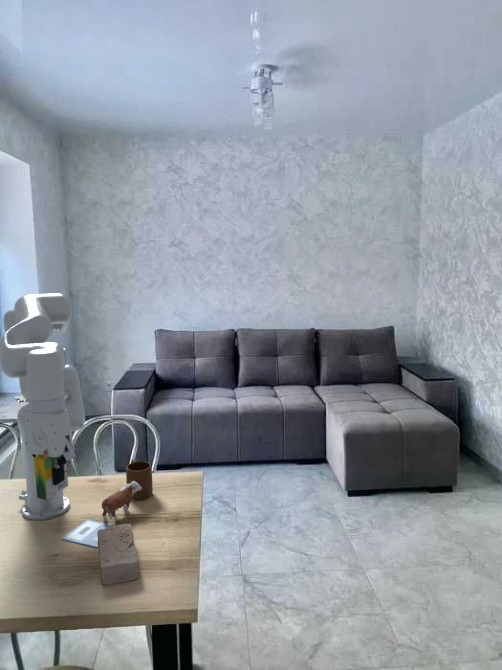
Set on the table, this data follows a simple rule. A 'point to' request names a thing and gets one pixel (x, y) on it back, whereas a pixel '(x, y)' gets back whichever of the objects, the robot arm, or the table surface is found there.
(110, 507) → the bull figurine
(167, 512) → the table surface
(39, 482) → the crayon box
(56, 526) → the table surface
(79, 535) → the plan sheet
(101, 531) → the brick
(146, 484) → the mug
